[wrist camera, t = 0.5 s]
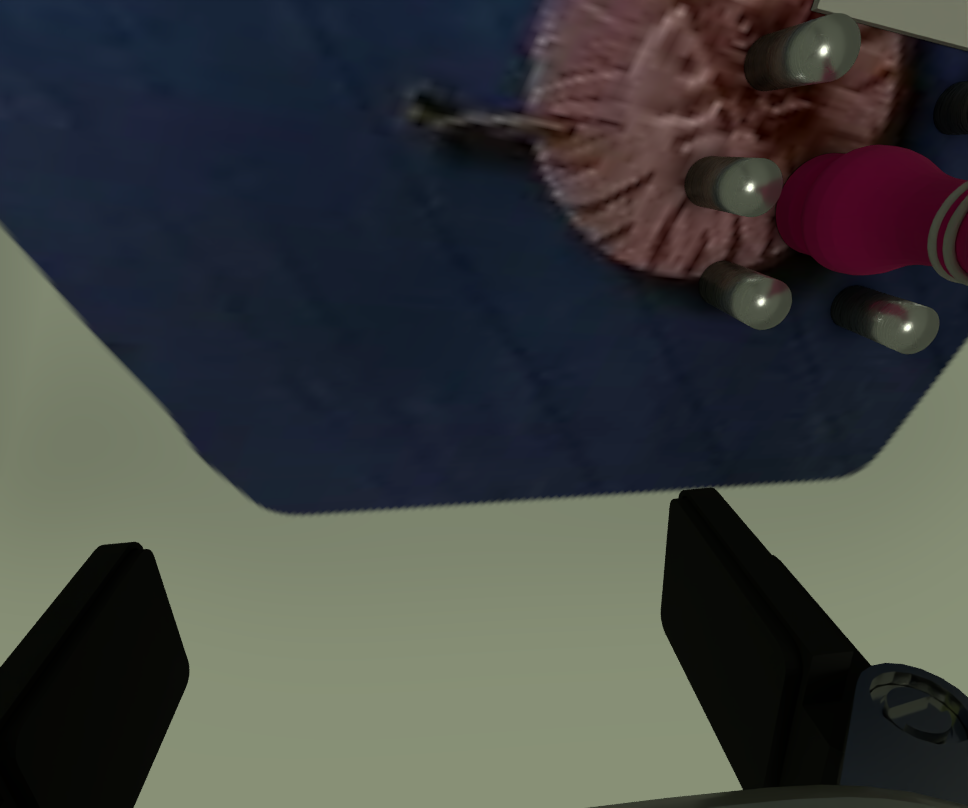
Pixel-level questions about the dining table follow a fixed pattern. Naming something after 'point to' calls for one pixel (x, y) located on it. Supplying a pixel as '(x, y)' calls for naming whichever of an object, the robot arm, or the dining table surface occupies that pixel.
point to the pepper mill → (876, 213)
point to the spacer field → (758, 184)
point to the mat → (908, 17)
